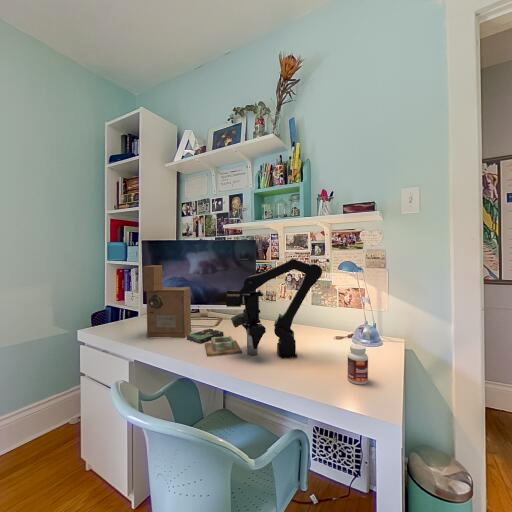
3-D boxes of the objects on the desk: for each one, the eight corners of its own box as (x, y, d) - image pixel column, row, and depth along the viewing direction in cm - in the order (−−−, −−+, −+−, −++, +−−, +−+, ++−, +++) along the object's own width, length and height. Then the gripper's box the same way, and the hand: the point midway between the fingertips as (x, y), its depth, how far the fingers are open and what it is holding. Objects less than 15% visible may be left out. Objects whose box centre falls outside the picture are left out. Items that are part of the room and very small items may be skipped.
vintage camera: (143, 340, 135) (141, 266, 134) (155, 331, 149) (154, 264, 149) (182, 340, 134) (181, 266, 133) (191, 331, 148) (190, 264, 147)
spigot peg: (256, 351, 118) (256, 327, 118) (259, 355, 114) (258, 330, 114) (246, 352, 117) (245, 328, 117) (248, 356, 113) (248, 331, 113)
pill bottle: (357, 386, 87) (357, 351, 87) (343, 378, 93) (343, 345, 92) (372, 382, 90) (372, 348, 89) (358, 375, 95) (357, 342, 95)
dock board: (235, 342, 130) (235, 333, 130) (241, 353, 116) (241, 343, 116) (204, 345, 127) (204, 336, 126) (207, 356, 113) (207, 346, 113)
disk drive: (209, 333, 146) (186, 340, 135) (209, 328, 146) (186, 334, 135) (224, 337, 140) (200, 345, 128) (224, 331, 140) (200, 338, 128)
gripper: (228, 304, 122) (229, 340, 122) (236, 313, 104) (237, 355, 104) (253, 302, 125) (254, 337, 125) (265, 311, 107) (266, 352, 107)
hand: (252, 345), depth 115 cm, fingers open, 8 cm apart
